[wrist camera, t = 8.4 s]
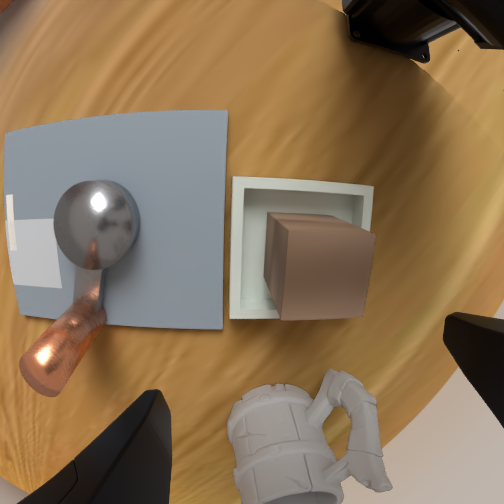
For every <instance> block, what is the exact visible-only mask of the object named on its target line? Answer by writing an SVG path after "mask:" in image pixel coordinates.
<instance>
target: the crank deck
mask: <svg viewBox="0 0 504 504" xmlns="http://www.w3.org/2000/svg"><path fill="white" fill-rule="evenodd" d="M227 124H228V111H221V110H179V111H152V112H136V113H124V114H113V115H103V116H95V117H87V118H80V119H73V120H66V121H60V122H54V123H49V124H44V125H38V126H34V127H29V128H24V129H20V130H15V131H11V132H7V133H5V148H4V206H5V224H6V235H7V244H8V252H9V259H10V266H11V272H12V278H13V283H14V287H15V292H16V297H17V302H18V306H19V310H20V314H21V315H27V316H35V317H42V318H50V319H58V318H59V317H60V316H61V315H62V314H63V313H64V312H65V311H66V310H67V309H68V308H69V307H70V306H71V305H72V304H73V293H74V281H75V271H76V265H75V264H74V263H72V262H71V261H70V260H69V259H68V258H67V257H66V256H65V255H64V254H63V252H62V251H61V249H60V248H59V245H58V243H57V241H56V238H55V234H54V225H53V221H54V213H55V209H56V206H57V204H58V202H59V200H60V198H61V197H62V195H63V194H64V193H65V192H66V191H67V190H68V189H69V188H70V187H72V186H73V185H75V184H77V183H80V182H84V181H92V180H110V181H114V182H116V183H118V184H120V185H122V186H123V187H125V188H126V189H127V190H128V191H129V192H130V194H131V195H132V196H133V198H134V199H135V202H136V204H137V206H138V209H139V214H140V229H139V233H138V237H137V239H136V241H135V243H134V245H133V246H132V247H131V249H130V250H129V251H128V252H127V253H126V254H124V255H123V256H122V257H121V258H120V259H119V260H118V261H117V262H115V263H114V264H113V265H111V266H109V267H107V271H106V278H105V285H104V293H103V301H102V306H103V307H104V309H105V312H106V323H105V324H109V325H122V326H138V327H156V328H181V329H223V244H224V202H225V171H226V146H227Z"/></svg>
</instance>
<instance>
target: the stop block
mask: <svg viewBox="0 0 504 504" xmlns="http://www.w3.org/2000/svg"><path fill="white" fill-rule="evenodd" d="M375 239H376V234H374V233H372V232H369V231H367V230H365V229H362V228H360V227H358V226H355V225H353V224H351V223H348V222H346V221H344V220H341V219H339V218H336V217H334V216H332V215H319V214H301V213H281V212H267V224H266V241H265V257H264V273H263V277H264V279H265V282H266V284H267V287H268V289H269V292H270V294H271V297H272V299H273V302H274V304H275V307H276V309H277V312H278V314H279V317H280V319H281V320H318V319H341V318H360V317H363V313H364V308H365V303H366V297H367V292H368V286H369V280H370V274H371V268H372V261H373V254H374V247H375Z"/></svg>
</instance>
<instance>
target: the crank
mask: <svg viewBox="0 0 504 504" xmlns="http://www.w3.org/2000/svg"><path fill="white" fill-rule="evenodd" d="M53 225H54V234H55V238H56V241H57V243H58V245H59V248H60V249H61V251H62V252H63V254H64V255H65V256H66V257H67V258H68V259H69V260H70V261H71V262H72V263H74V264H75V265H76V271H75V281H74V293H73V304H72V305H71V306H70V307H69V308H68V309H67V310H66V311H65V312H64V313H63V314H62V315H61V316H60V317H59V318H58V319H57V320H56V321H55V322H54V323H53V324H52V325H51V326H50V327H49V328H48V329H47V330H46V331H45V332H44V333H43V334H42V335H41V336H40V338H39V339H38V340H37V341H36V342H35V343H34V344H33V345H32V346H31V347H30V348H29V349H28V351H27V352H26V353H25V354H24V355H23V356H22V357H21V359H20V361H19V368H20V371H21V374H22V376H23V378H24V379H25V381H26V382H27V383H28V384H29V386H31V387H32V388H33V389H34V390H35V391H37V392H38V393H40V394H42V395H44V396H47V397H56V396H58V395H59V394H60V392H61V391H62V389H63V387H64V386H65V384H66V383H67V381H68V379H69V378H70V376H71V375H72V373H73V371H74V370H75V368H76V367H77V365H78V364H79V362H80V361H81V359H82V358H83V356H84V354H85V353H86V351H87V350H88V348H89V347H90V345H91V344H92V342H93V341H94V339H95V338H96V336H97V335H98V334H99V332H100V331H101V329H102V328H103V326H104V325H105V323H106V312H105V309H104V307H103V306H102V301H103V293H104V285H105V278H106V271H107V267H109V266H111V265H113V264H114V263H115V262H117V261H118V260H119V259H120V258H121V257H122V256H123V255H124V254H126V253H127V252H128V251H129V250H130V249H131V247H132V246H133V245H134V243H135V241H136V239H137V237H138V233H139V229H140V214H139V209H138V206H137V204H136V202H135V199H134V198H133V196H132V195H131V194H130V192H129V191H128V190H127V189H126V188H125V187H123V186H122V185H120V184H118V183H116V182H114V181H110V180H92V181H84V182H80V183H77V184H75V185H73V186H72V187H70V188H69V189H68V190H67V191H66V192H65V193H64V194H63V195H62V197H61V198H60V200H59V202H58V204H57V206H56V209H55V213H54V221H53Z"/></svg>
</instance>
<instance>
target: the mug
mask: <svg viewBox="0 0 504 504" xmlns="http://www.w3.org/2000/svg"><path fill="white" fill-rule="evenodd" d="M376 405H377V402H376V399H375V397H374V396H373V395H372V394H370V393H369V392H368V391H366V390H365V389H364V388H363V384H362V383H361V382H360V381H359V380H358V379H356V378H355V377H354V376H352V375H350V374H348V373H347V372H344V371H340V372H338V371H336V370H333V369H329V370H328V371H327V372H326V374H325V376H324V378H323V382H322V385H321V388H320V390H319V392H318V394H317V396H316V397H315V399H312V398H311V396H310V395H309V394H308V393H307V392H306V391H305V390H303V389H301V388H299V387H297V386H294V385H290V384H285V386H284V384H278V383H276V384H275V385H274V386H271V385H269V384H267V385H263V386H260V387H257V388H254V389H252V390H250V391H248V392H246V393H245V394H244V395H243V396H242V400H240V401H237V402H235V404H234V406H233V408H232V410H231V414H230V417H229V419H228V422H227V434H228V438H229V441H230V443H231V444H232V445H233V449H234V454H235V460H236V467H235V468H234V469H233V476H234V481H235V486H236V488H237V489H238V490H239V491H240V495H241V502H242V504H341V503H342V501H343V499H344V494H343V490H342V487H341V484H340V482H341V481H343V480H345V479H346V478H348V477H349V476H350V475H352V476H353V477H354V478H355V479H356V480H357V481H358V482H359V483H361V484H362V485H364V486H365V487H367V488H370V489H372V490H374V491H375V492H384V491H389V490H391V489H392V484H391V483H390V481H389V479H388V477H387V475H386V472H385V468H384V464H383V460H382V457H383V453H382V448H381V443H380V437H379V424H378V417H377V410H376ZM338 406H341V407H344V408H345V410H346V412H347V414H348V417H349V418H351V431H350V433H349V438H348V444H347V448H346V449H348V450H347V452H346V454H345V455H344V456H343V457H342V458H341V459H340V460H339V461H337V459H336V457H335V454H334V452H333V451H332V450H331V448H329V447H328V444H327V441H326V438H325V435H324V432H323V429H322V427H323V422H324V420H325V419H326V418H327V417H328V415H329V414H330V413H331V411H332V410H333V408H334V407H338Z"/></svg>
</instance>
